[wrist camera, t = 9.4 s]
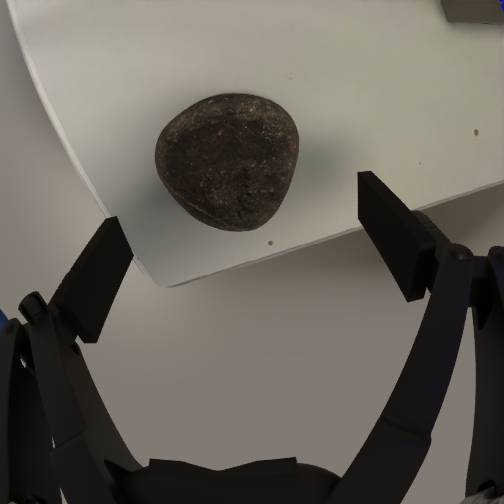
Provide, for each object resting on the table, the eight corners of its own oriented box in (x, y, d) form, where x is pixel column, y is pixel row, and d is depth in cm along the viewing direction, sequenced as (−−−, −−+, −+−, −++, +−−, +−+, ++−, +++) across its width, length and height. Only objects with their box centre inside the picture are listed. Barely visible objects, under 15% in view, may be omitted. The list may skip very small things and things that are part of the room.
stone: (319, 186, 25) (334, 212, 21) (213, 234, 28) (209, 267, 24) (262, 68, 19) (268, 67, 15) (145, 133, 22) (124, 149, 18)
